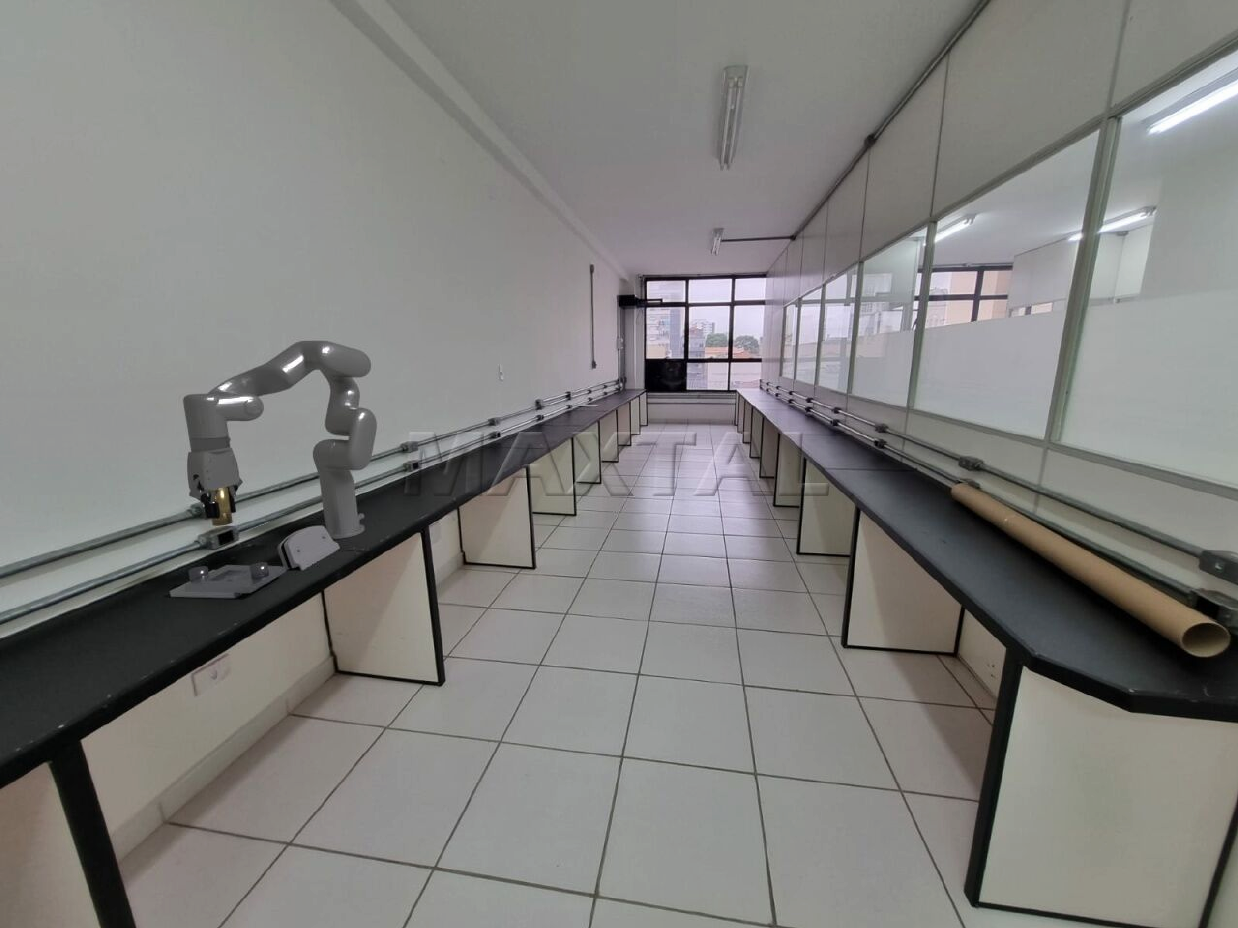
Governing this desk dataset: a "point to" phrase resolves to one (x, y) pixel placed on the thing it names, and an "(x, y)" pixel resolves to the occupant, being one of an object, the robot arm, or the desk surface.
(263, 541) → the desk surface
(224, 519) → the pin
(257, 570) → the knobbed base plate
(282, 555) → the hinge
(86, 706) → the desk surface
